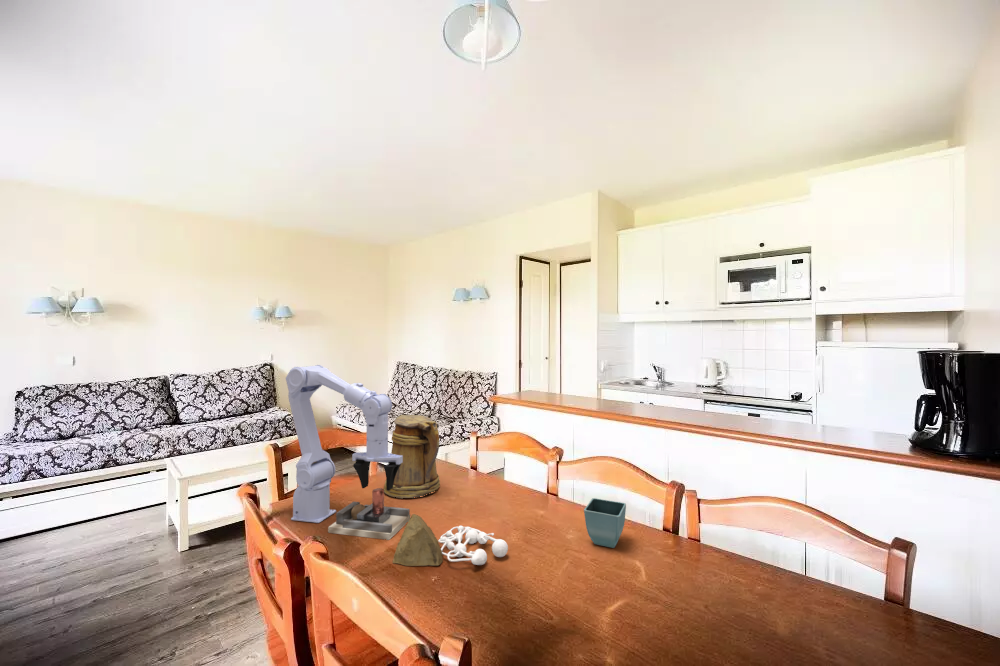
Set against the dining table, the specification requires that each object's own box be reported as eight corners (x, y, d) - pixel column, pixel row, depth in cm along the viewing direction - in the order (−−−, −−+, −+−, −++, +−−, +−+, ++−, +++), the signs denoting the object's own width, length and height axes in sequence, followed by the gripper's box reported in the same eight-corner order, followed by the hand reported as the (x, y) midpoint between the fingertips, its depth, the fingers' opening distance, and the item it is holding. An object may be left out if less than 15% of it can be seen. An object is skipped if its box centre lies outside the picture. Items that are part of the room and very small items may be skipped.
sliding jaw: (356, 525, 108) (356, 494, 108) (373, 513, 116) (373, 484, 116) (377, 527, 107) (376, 496, 107) (392, 515, 114) (391, 485, 115)
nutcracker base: (328, 532, 108) (328, 515, 108) (354, 513, 120) (354, 498, 120) (389, 539, 104) (389, 522, 104) (410, 519, 115) (410, 503, 115)
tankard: (414, 477, 152) (414, 410, 152) (460, 490, 137) (459, 417, 138) (373, 491, 138) (373, 417, 138) (418, 508, 123) (418, 426, 124)
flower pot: (583, 546, 100) (583, 509, 100) (592, 531, 107) (592, 497, 108) (620, 554, 96) (619, 516, 96) (627, 538, 103) (626, 503, 104)
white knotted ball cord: (424, 547, 103) (422, 531, 103) (472, 527, 111) (470, 512, 111) (462, 581, 87) (460, 562, 87) (515, 555, 95) (513, 537, 95)
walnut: (348, 521, 111) (348, 507, 111) (356, 515, 115) (356, 501, 115) (361, 523, 110) (361, 508, 110) (369, 516, 114) (369, 502, 114)
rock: (455, 549, 94) (429, 529, 101) (440, 528, 90) (414, 510, 97) (423, 592, 89) (397, 569, 95) (405, 573, 84) (380, 550, 91)
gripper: (345, 440, 110) (345, 491, 110) (393, 443, 106) (393, 495, 106) (360, 435, 117) (360, 482, 117) (406, 437, 113) (406, 486, 113)
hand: (377, 488), depth 112 cm, fingers open, 7 cm apart
